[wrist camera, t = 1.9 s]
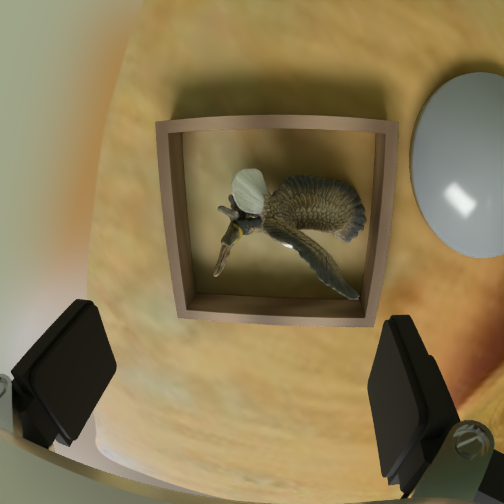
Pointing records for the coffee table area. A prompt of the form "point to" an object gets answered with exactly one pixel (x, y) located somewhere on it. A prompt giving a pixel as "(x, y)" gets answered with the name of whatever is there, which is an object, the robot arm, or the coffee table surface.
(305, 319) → the walnut frame
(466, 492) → the robot arm
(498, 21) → the coffee table surface
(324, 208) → the eagle figurine
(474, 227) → the grey round plate
